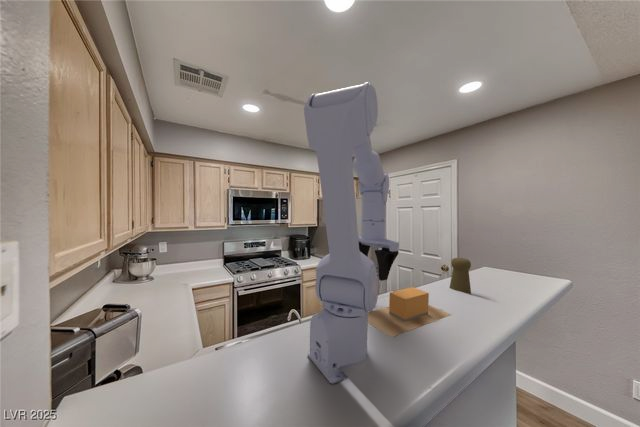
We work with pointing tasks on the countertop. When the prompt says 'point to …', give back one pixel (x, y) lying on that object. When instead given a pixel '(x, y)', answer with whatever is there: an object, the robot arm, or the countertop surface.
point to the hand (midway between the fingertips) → (372, 275)
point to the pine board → (397, 326)
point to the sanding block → (408, 303)
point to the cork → (460, 275)
